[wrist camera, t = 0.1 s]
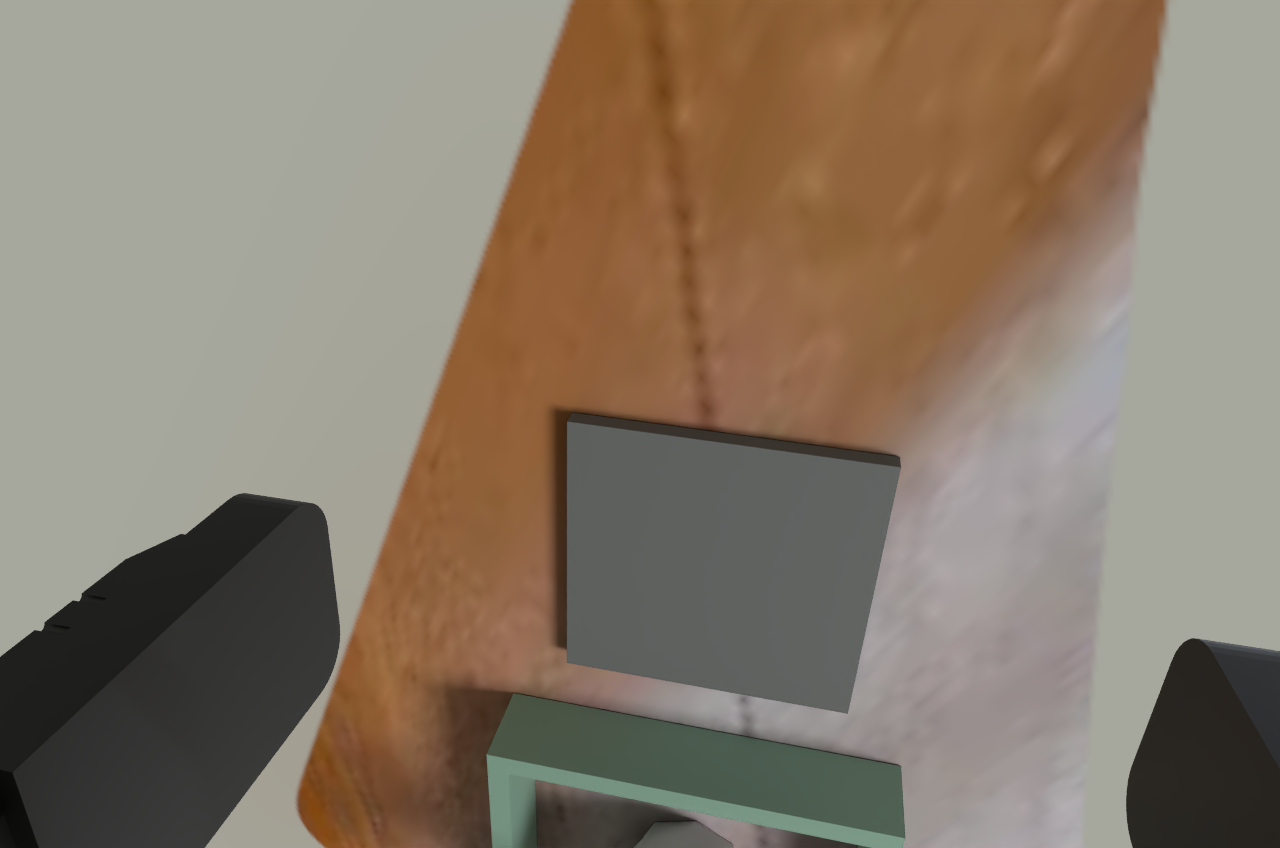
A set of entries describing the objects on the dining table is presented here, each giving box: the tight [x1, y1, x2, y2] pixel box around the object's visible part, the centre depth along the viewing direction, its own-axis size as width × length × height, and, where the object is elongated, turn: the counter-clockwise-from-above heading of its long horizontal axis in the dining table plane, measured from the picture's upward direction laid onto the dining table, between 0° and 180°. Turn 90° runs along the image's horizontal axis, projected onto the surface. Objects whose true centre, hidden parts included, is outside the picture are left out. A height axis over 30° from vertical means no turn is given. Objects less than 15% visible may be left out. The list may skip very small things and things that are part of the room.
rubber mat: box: [567, 413, 901, 714], centre depth 29 cm, size 10×10×1 cm
